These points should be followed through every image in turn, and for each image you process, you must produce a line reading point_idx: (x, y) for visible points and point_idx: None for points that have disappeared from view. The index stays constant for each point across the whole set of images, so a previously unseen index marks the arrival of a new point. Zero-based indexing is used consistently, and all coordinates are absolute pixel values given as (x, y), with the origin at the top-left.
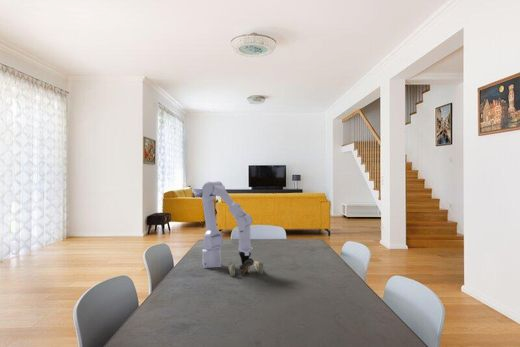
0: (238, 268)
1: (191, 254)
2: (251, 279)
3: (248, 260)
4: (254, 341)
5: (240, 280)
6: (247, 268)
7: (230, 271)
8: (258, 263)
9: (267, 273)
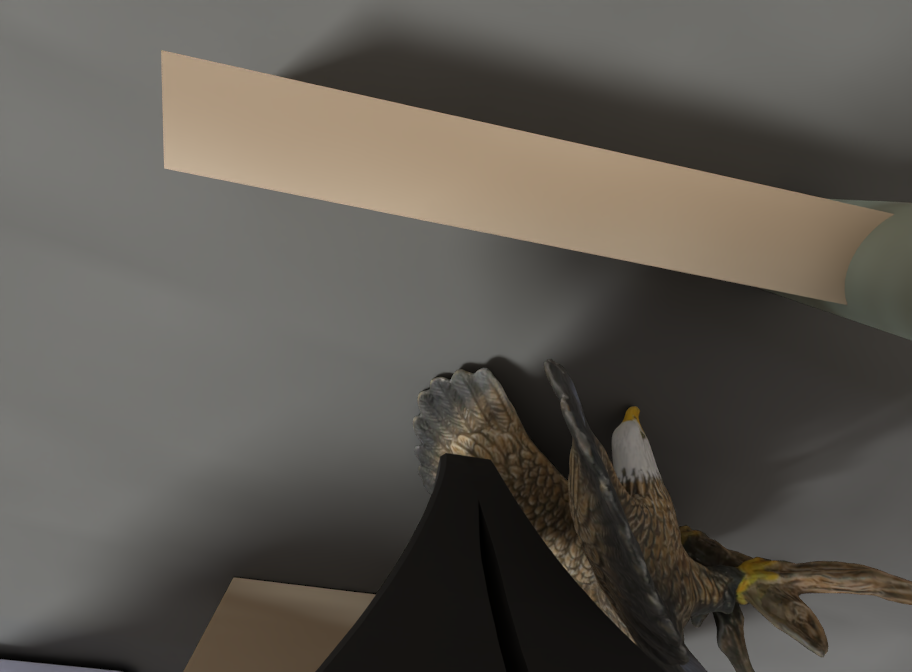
0: None
1: None
2: (899, 483)
3: (630, 592)
4: None
5: (825, 606)
6: (829, 591)
7: None
8: (510, 161)
9: (841, 94)
